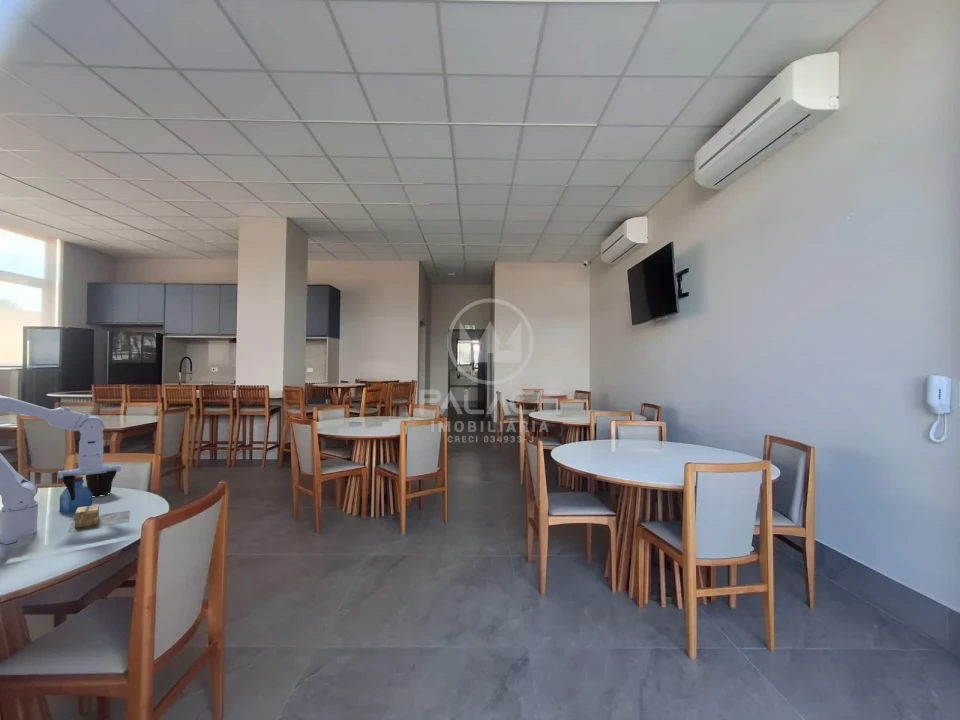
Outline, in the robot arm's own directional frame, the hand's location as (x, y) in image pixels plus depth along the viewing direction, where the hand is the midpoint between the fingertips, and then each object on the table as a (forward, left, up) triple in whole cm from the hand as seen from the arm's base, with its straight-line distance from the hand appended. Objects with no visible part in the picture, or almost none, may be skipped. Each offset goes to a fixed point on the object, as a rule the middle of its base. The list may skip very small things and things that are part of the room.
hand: (89, 497), depth 132 cm
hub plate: (+2, +2, -9) cm, 9 cm away
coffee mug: (-33, +17, -9) cm, 38 cm away
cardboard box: (0, -1, -8) cm, 8 cm away
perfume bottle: (-18, +4, -9) cm, 20 cm away
